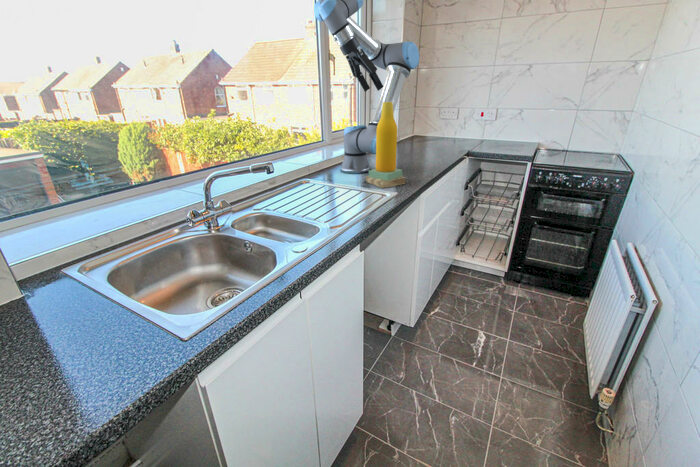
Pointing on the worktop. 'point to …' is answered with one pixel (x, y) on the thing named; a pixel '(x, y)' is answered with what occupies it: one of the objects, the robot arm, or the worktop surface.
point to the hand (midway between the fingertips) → (373, 89)
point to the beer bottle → (386, 140)
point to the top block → (385, 174)
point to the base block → (385, 183)
